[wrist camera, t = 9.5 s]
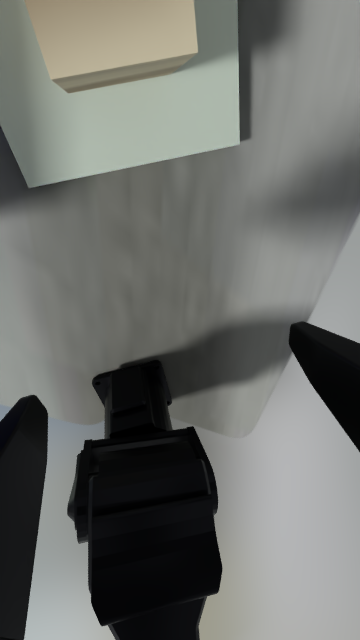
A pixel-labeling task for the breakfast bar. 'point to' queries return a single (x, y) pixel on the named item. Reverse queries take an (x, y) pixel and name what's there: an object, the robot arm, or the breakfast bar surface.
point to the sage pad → (117, 104)
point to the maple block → (112, 39)
